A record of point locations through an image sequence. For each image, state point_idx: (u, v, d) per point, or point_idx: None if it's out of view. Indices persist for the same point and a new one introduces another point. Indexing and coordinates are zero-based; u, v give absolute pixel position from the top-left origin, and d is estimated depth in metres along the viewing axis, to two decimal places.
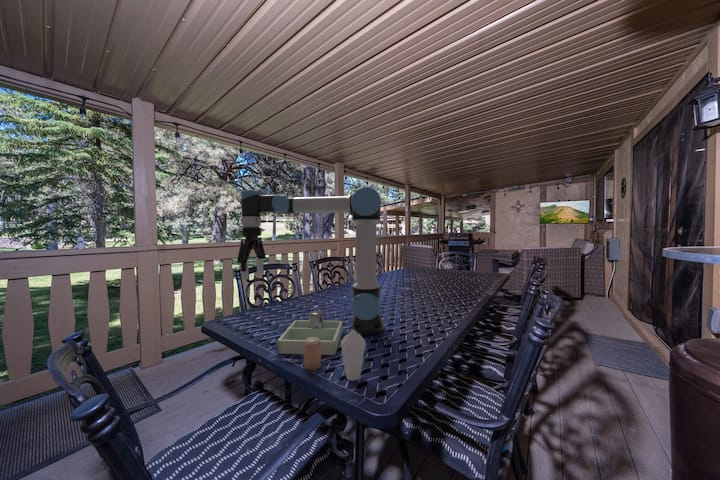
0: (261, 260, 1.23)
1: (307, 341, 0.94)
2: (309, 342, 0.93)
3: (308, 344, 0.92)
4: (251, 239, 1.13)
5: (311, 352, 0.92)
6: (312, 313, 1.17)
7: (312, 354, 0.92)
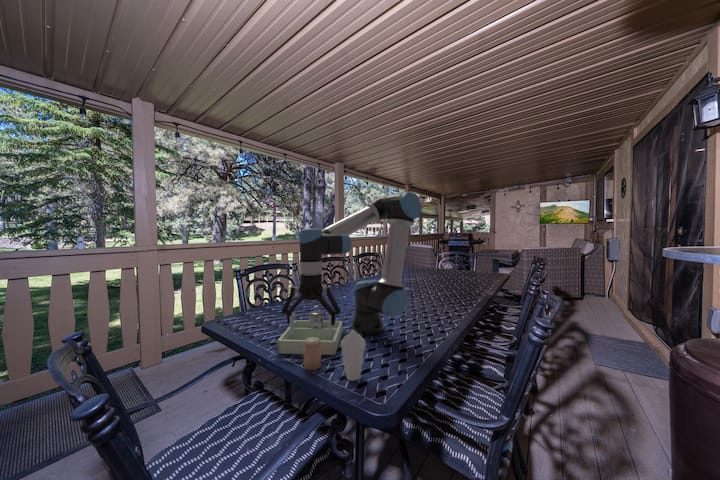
0: (329, 318, 0.93)
1: (307, 341, 0.94)
2: (309, 342, 0.93)
3: (308, 344, 0.92)
4: (303, 289, 0.93)
5: (311, 352, 0.92)
6: (312, 313, 1.17)
7: (312, 354, 0.92)
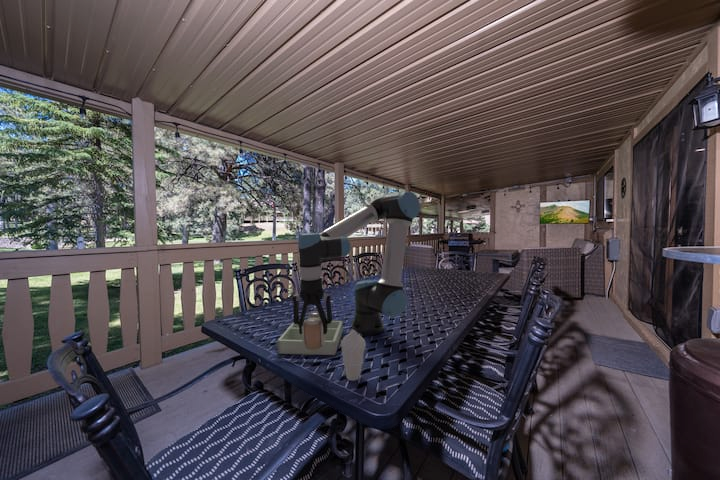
0: (321, 327, 0.94)
1: (308, 321, 0.94)
2: (310, 322, 0.93)
3: (309, 324, 0.92)
4: (303, 293, 0.93)
5: (312, 332, 0.92)
6: (312, 313, 1.17)
7: (313, 333, 0.92)
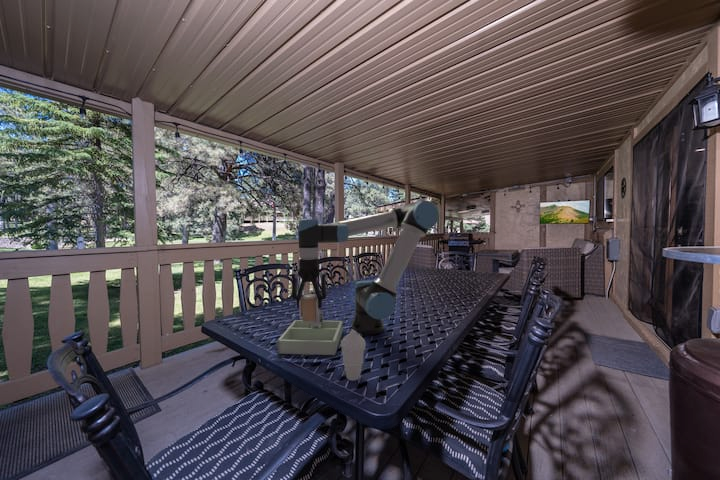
0: (316, 302, 1.06)
1: (305, 296, 1.06)
2: (306, 297, 1.05)
3: (305, 298, 1.04)
4: (301, 271, 1.05)
5: (308, 305, 1.04)
6: None
7: (309, 307, 1.04)
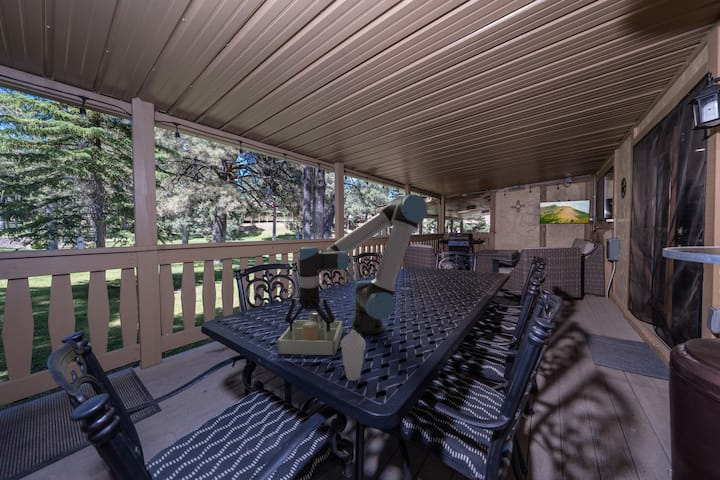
0: None
1: (305, 324, 1.06)
2: (307, 325, 1.06)
3: (306, 327, 1.05)
4: (302, 299, 1.06)
5: (309, 334, 1.05)
6: (312, 313, 1.17)
7: (310, 335, 1.05)
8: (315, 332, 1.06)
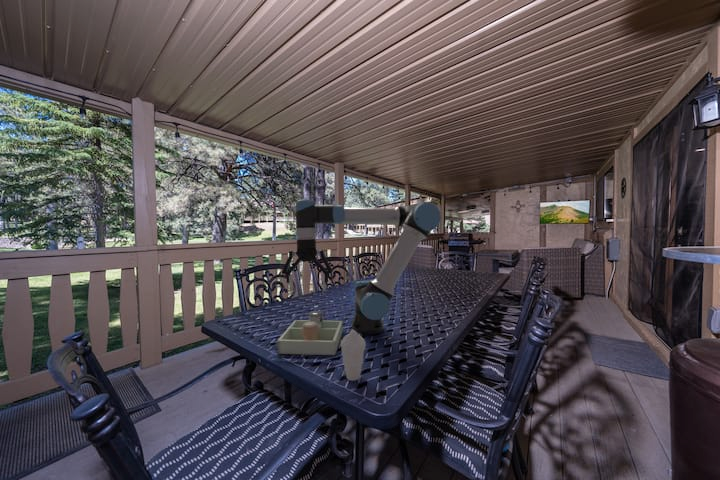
0: None
1: (305, 324, 1.06)
2: (307, 325, 1.06)
3: (306, 327, 1.05)
4: (299, 252, 1.08)
5: (309, 334, 1.05)
6: (312, 313, 1.17)
7: (310, 335, 1.05)
8: (315, 332, 1.06)
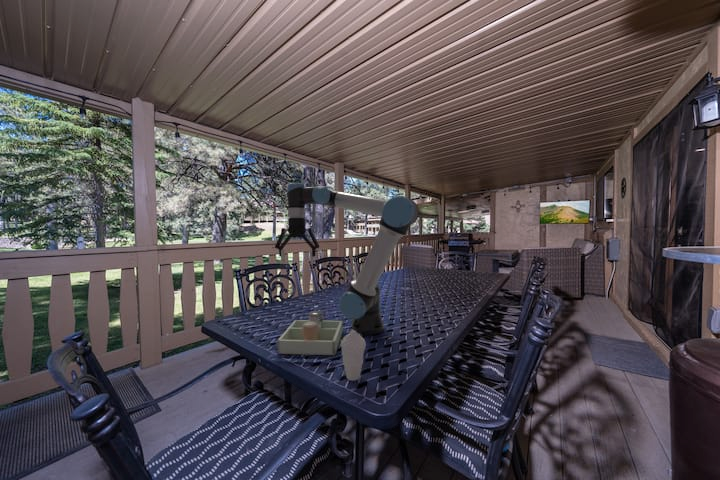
0: None
1: (305, 325, 1.06)
2: (307, 325, 1.06)
3: (306, 327, 1.05)
4: (290, 229, 1.23)
5: (309, 334, 1.05)
6: (312, 313, 1.17)
7: (310, 335, 1.05)
8: (315, 332, 1.06)
